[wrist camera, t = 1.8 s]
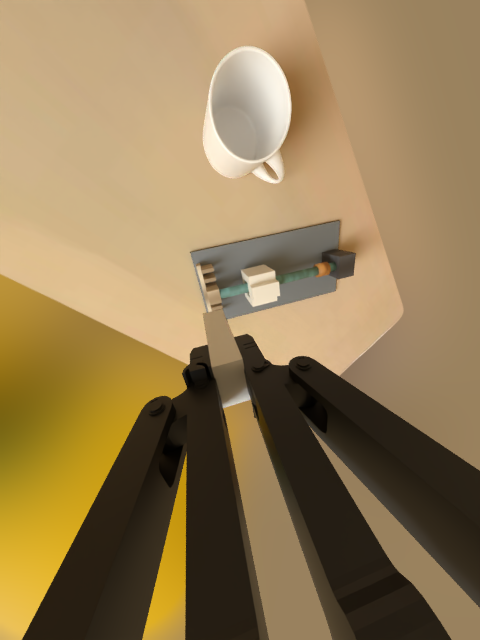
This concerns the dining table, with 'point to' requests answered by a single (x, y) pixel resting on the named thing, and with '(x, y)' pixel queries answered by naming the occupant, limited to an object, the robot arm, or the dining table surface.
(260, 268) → the sleeve
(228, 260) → the mat
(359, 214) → the dining table surface
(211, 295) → the comb rail
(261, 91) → the mug
